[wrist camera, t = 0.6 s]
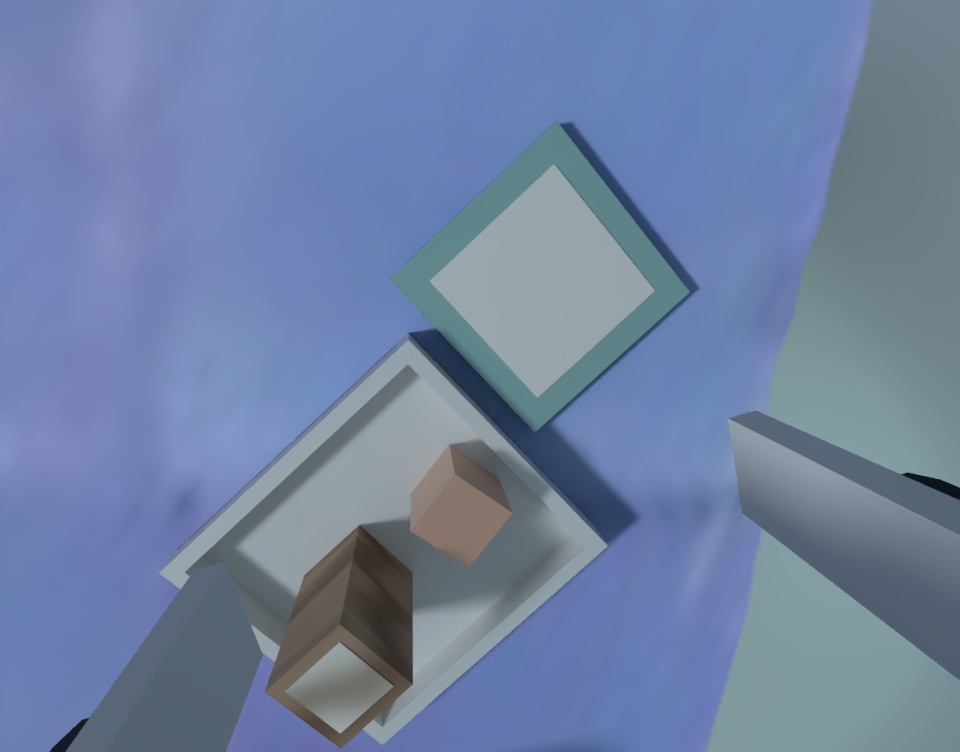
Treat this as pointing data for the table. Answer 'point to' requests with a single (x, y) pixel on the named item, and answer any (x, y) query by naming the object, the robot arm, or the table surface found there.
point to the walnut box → (347, 639)
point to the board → (542, 279)
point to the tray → (396, 522)
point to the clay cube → (458, 506)
